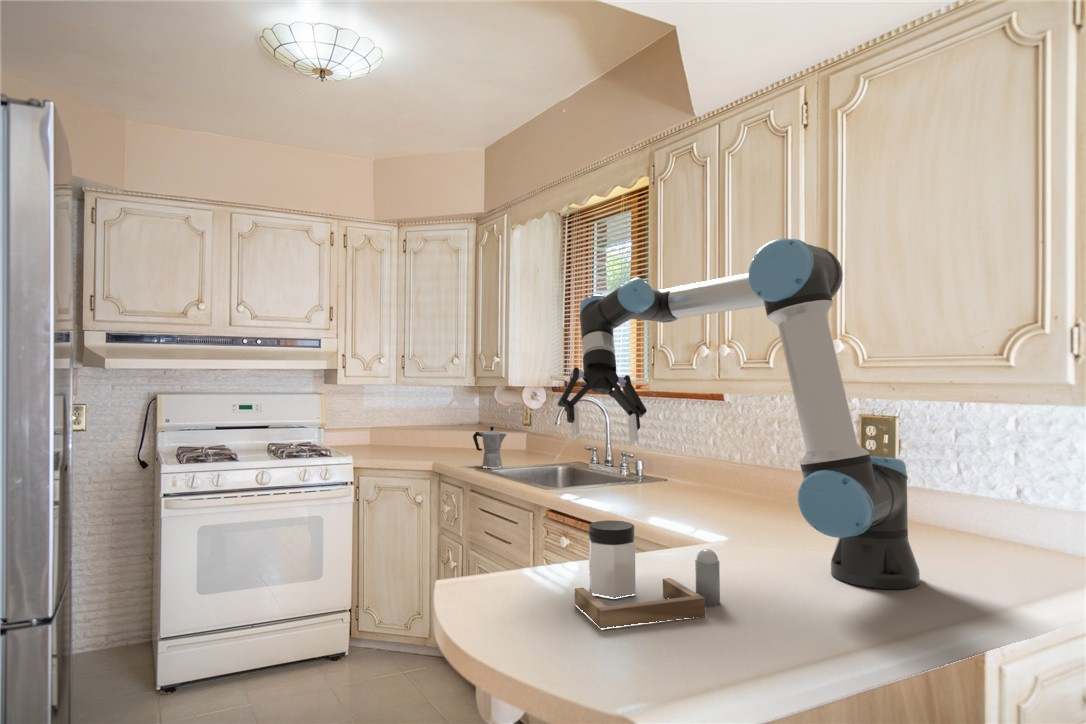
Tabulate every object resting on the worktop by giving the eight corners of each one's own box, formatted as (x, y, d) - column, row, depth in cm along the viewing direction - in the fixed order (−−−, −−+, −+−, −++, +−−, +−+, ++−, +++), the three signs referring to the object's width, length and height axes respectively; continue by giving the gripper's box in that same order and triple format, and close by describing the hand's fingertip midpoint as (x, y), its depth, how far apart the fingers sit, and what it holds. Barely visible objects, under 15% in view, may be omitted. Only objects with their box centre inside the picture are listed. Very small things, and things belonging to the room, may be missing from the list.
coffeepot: (510, 467, 294) (509, 425, 294) (503, 469, 285) (503, 427, 285) (476, 466, 298) (476, 425, 298) (469, 468, 289) (469, 427, 289)
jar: (587, 584, 125) (587, 519, 125) (631, 584, 125) (630, 519, 125) (590, 600, 116) (590, 530, 116) (638, 600, 116) (637, 530, 116)
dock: (574, 606, 113) (574, 588, 113) (670, 595, 118) (670, 577, 118) (601, 630, 102) (601, 610, 102) (705, 616, 107) (705, 598, 107)
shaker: (724, 602, 114) (723, 549, 114) (711, 608, 111) (710, 553, 112) (704, 597, 117) (703, 545, 117) (691, 602, 114) (690, 549, 114)
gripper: (641, 371, 161) (650, 452, 150) (542, 356, 154) (544, 440, 143) (654, 355, 155) (665, 439, 144) (553, 339, 148) (556, 425, 137)
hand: (605, 439), depth 144 cm, fingers open, 13 cm apart
